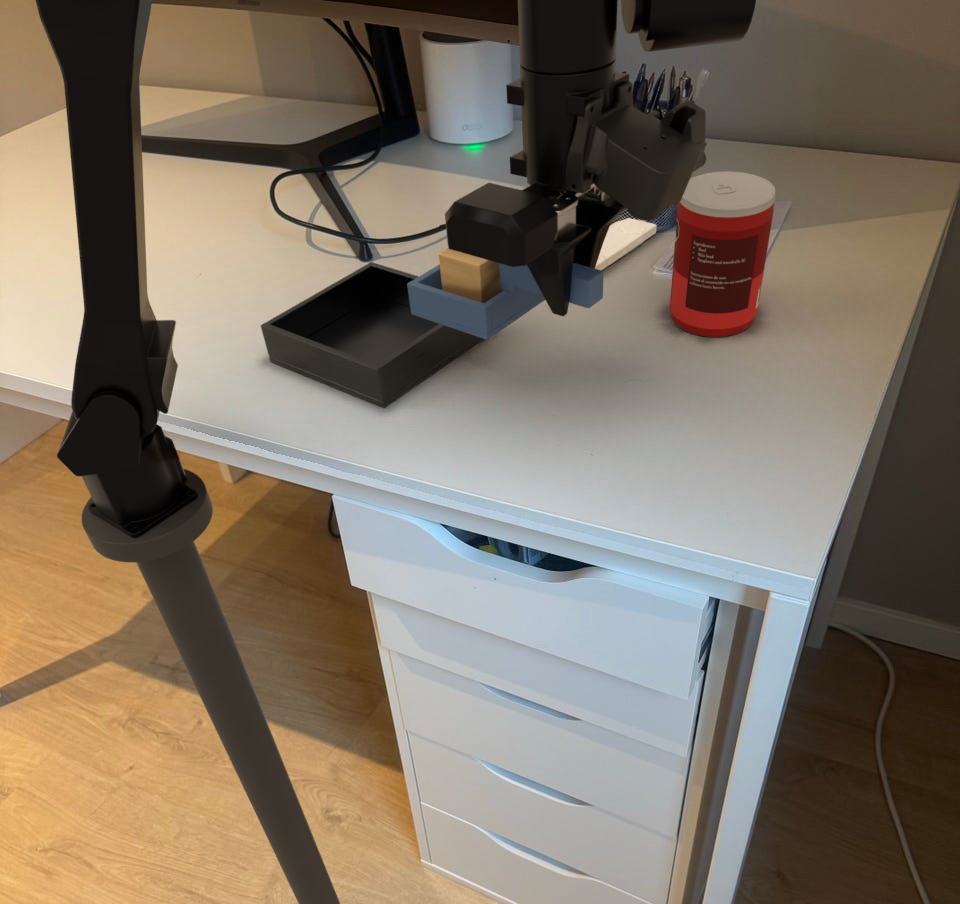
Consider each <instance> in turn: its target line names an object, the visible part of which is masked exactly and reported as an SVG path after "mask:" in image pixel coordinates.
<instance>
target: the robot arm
mask: <svg viewBox="0 0 960 904" xmlns="http://www.w3.org/2000/svg"><path fill="white" fill-rule="evenodd" d="M152 3H153V0H35V4H36V8H37V12H38V15H39V20H40V22H41V25H42V27H43V29H44V32H45V34H46V36H47V39H48V41H49V44H50V47H51V49H52V51H53V54H54V56H55V59H56V61H57V64H58V66H59V69H60V72H61V77H62V80H63V85H64V86H63V88H64V98H65V111H66V121H67V131H68V132H67V133H68V143H69V155H70V164H71V165H70V166H71V174H72V175H71V177H72V188H73V197H74V209H75V221H76V232H77V241H78V242H77V245H78V255H79V264H80V265H79V267H80V277H81V278H80V279H81V288H82V298H83V318H82V323H81V329H80V334H79V342H78V347H77V353H76V358H75V364H74V373H73V380H72V382H73V384H72V391H71V398H70V399H71V400H70V401H71V405H70V406H71V413H70V416H69V419H68V423H67V425H66V428H65V431H64V433H63V436H62V438H61V439H62V440H61V442H60V446H59V448H58V451H57V454H56V458H57V459H58V460H59V461H60V462H61V463H62V464H63V465H64V466H65V467H66V468H67V469H68V470H69V472H71V473H72V474H73V475H74V476H75V477H81V479H82V481H83V483H84V484H85V486H86V488H87V491H88V492H89V495H90V498H91V497H92V499H93V501H94V502H92V503H90V504H89V505H88V509H89V511H90V512H91V513H92V514H94V515H96V516H97V517H99V518H100V519H102V520H104V521H105V522H107V523H109V524H110V525H112V526H114V527H115V528H117V529H118V530H120V531H122V532H123V533H125V534H127V535H128V536H130V537H132V538H138V537H140V536H142V535H143V534H145V533H146V532H148V531H149V530H151V529H152V528H154V527H155V526H157V525H158V524H160V523H161V522H163V521H164V520H166V519H167V518H169V517H170V516H172V515H173V514H175V513H176V512H178V511H179V510H181V509H182V508H184V507H185V506H187V505H188V504H190V503H191V502H193V501H194V500H195V499H197V498H198V494H197V491H196V490H194V489H193V488H191V487H189V486H187V485H185V484H183V483H185V482H186V481H187V477H186V474H185V472H184V469H185V468H184V467H183V464H182V462H181V458H180V456H179V454H178V451H177V449H176V445H175V444H174V441H173V439H172V438H170V437H168V436H166V435H165V433H164V430H163V428H162V426H161V425H159V424H158V421H159V416H160V413H162V414H164V415H167V414H168V413H169V409H170V405H171V399H172V396H173V395H172V394H173V391H174V387H175V386H174V385H175V382H176V381H175V380H176V376H177V373H178V367H179V365H178V362H177V360H176V358H175V356H174V351H173V343H174V341H173V340H174V336H175V330H176V324H177V322H176V320H174V319H157V318H156V315H155V312H154V310H153V308H152V306H151V303H150V300H149V295H148V273H147V272H148V271H147V247H146V245H147V244H146V219H145V194H144V193H145V192H144V191H145V190H144V170H143V144H142V143H143V142H142V141H143V140H142V117H141V116H142V115H141V92H140V91H141V89H140V88H141V87H140V74H141V66H142V63H143V62H142V61H143V56H144V49H145V45H146V38H147V33H148V28H149V22H150V16H151V10H152ZM618 3H619V2H618V0H517V15H518V16H517V17H518V19H517V20H518V42H519V43H518V44H519V48H518V49H519V73H520V75H519V77H520V78H518V79H515V80H514V81H512V82H510V83H508V84H506V104H508V105H515V106H518V107H519V106H520V107H521V130H522V150H520V151H519V152H517V153H515V154H513V155H511V156H510V157H509V172H510V173H509V174H510V175H514V176H518V177H523V178H526V183H527V184H528V185H527V186H526V187H524V188H522V189H518V188H514V187H509V186H505V185H501V184H497V183H492V182H487V183H486V184H483V185H481V186H480V187H478V188H476V189H475V190H472V191H471V192H469V193H468V194H465V195H464V196H462V197H460V198H459V199H456V200H455V201H454V202H453V203H452V204H451V205H450V207H448V209H447V210H446V211H445V213H444V222H445V229H446V232H445V233H446V241H447V247H448V248H449V249H451V250H455V251H458V252H462V253H465V254H469V255H472V256H476V257H479V258H483V259H486V260H490V261H493V262H497V263H500V264H504V265H507V266H511V267H516V266H525V265H527V266H528V268H529V270H530V271H531V273H532V275H533V277H534V279H535V281H536V283H537V285H538V287H539V288H540V290H541V292H542V294H543V296H544V298H545V300H544V301H546V303H547V305H548V307H549V310H550V311H551V313H552V314H554V315H556V316H560V317H565V316H567V314H568V311H569V305H570V303H569V300H570V292H571V280H572V269H573V263H576V264H579V265H583V266H587V267H590V268H594V269H595V266H596V263H597V260H598V257H599V254H600V251H601V248H602V245H603V242H604V240H605V237H606V234H607V232H608V229H609V227H610V225H612V224H613V222H614V221H615V220H617V218H618V217H619V216H621V215H622V214H624V212H625V211H626V210H627V212H628V213H629V214H630V215H631V216H633V217H634V218H635V219H637V220H640V221H644V220H645V221H644V222H649V221H650V222H651V221H653V220H656V219H657V218H659V217H660V216H661V214H662V213H664V211H667V209H669V208H671V206H673V205H674V206H675V205H678V203H679V202H680V201H681V199H682V197H683V194H684V192H685V190H686V187H687V185H688V182H689V180H690V179H691V178H692V175H693V173H694V172H696V171H697V170H699V169H700V168H702V167H704V165H705V164H706V162H707V155H706V153H705V149H706V147H707V145H708V143H707V142H706V110H705V109H704V108H702V107H701V106H699V105H698V104H696V103H695V102H693V101H692V100H690V99H686V100H684V101H683V102H681V103H679V104H677V105H675V106H674V107H673V108H671V109H670V110H669V111H668V112H667V113H666V114H665V115H664V116H662V118H661V119H659V117H660V115H661V113H660V112H659V111H657V110H656V109H654V110H653V111H651V112H649V113H645V112H643V111H641V110H639V109H637V108H635V106H634V100H633V95H634V94H633V92H634V85H633V83H632V82H631V81H630V73H624V72H617V71H616V67H617V66H616V65H617V64H616V62H617V34H618V33H617V32H618V31H617V29H618ZM756 3H757V0H620V5H621V6H620V10H621V18H622V23H623V28H624V30H625V33H626V34H628V35H633V34H637V35H638V38H639V39H638V40H639V42H640V46H641V48H642V50H643V51H644V52H646V53H649V52H657V51H666V50H673V49H682V48H690V47H691V48H692V47H698V46H699V47H700V46H707V45H715V44H716V45H717V44H724V43H732V42H740V41H741V40H743V39H744V38H745V36H746V34H747V33H748V31H749V28H750V26H751V23H752V21H753V17H754V13H755V8H756ZM448 248H447V249H448Z"/></svg>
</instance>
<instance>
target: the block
mask: <svg viewBox="0 0 960 904" xmlns="http://www.w3.org/2000/svg"><path fill="white" fill-rule="evenodd" d="M438 261H439V264H440V272H441V281H442V290H443V291H446V292H450V293H453V294H456V295H459V296H462V297H465V298H469V299H472V300H475V301H478V302H481V303H485V302H487V301H488V300H490V299H492V298H493V297H495V296H496V295H498V294H499V293H501V292H502V291H504V290H503V289H501V284H500V267H499V263H497V262H493V261H490V260H486V259H483V258H479V257H476V256H472V255H469V254H465V253H462V252H458V251H455V250H451V249H449V248H446V249H443V250H442V251H441V252H438Z"/></svg>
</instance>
